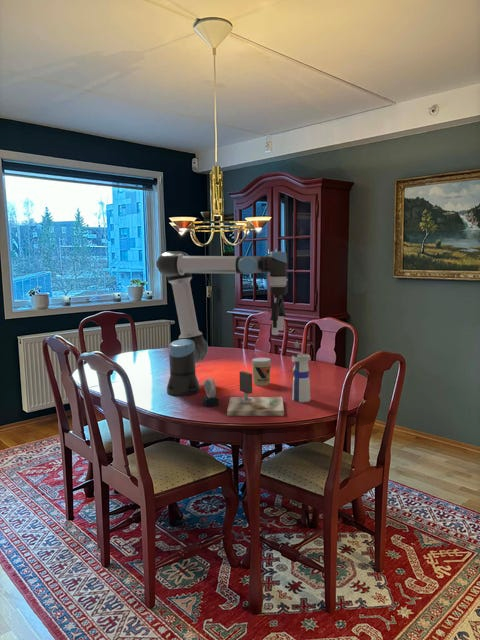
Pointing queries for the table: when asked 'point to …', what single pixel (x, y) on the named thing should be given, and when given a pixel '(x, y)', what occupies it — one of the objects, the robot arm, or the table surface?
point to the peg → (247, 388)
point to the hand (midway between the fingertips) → (277, 332)
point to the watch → (210, 393)
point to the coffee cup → (261, 371)
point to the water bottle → (301, 377)
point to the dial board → (256, 407)
